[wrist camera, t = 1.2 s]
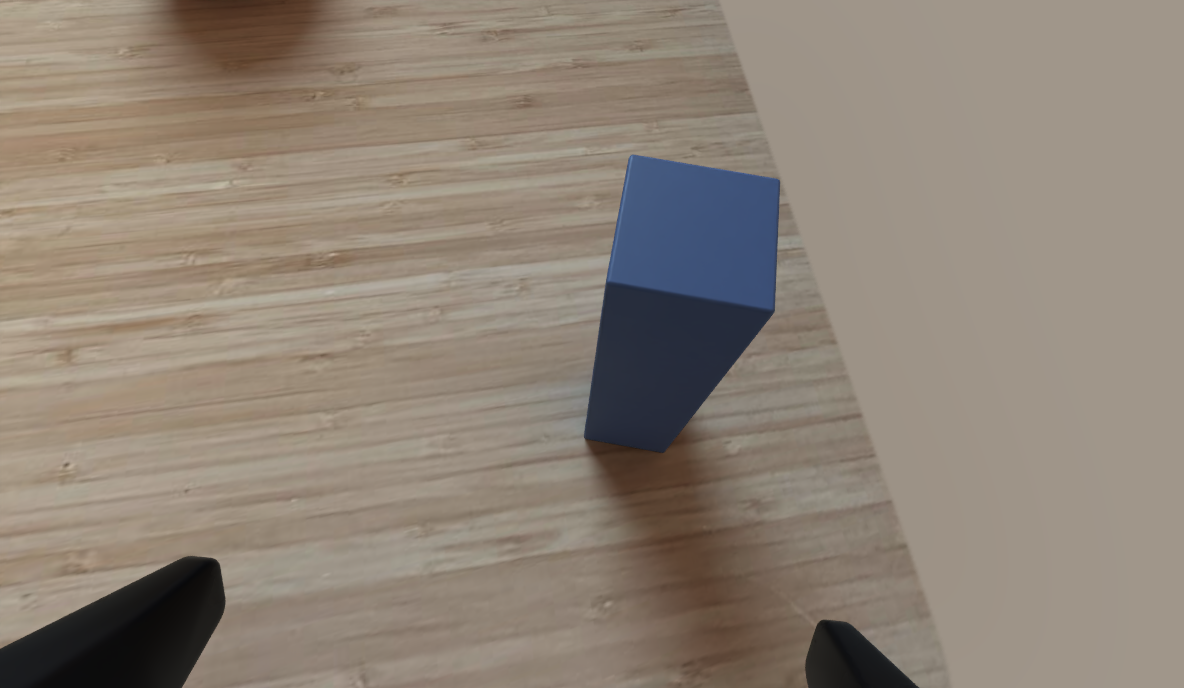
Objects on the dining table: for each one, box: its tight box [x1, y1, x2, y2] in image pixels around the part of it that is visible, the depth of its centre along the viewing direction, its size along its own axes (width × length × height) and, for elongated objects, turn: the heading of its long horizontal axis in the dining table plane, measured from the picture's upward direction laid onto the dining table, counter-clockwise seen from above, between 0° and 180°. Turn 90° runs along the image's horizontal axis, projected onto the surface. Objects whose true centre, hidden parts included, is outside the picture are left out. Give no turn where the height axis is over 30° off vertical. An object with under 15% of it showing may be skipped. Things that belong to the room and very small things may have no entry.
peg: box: [584, 155, 780, 453], centre depth 17 cm, size 3×3×13 cm
